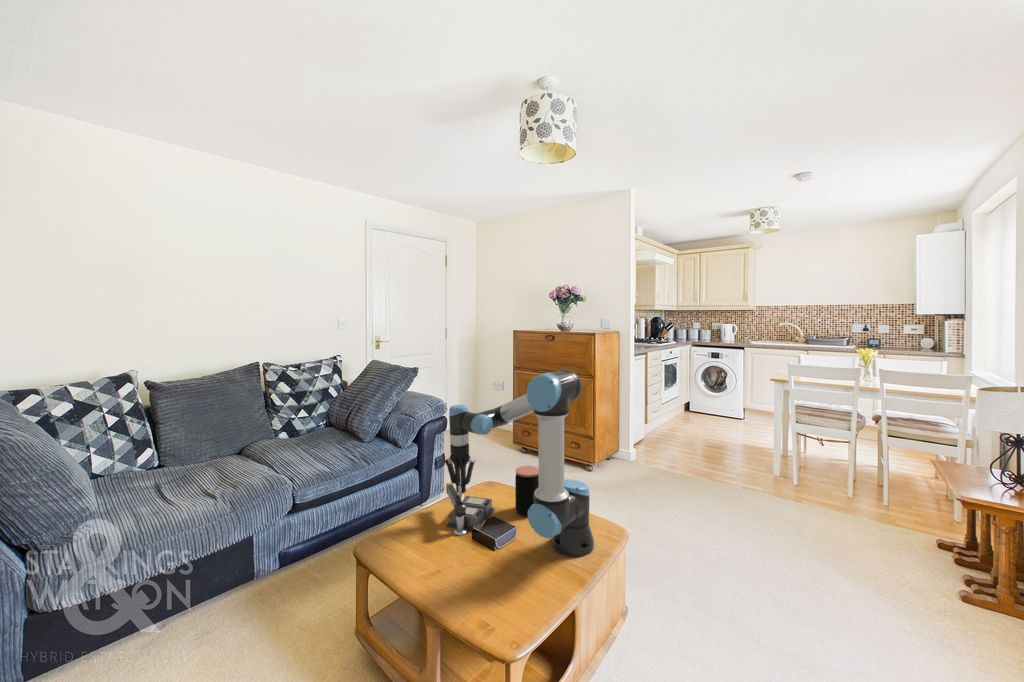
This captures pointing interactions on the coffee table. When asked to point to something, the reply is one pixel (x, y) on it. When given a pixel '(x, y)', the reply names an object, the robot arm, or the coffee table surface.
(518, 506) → the coffee jar
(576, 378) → the robot arm
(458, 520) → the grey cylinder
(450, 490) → the swing arm
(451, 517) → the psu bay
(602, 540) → the coffee table surface
